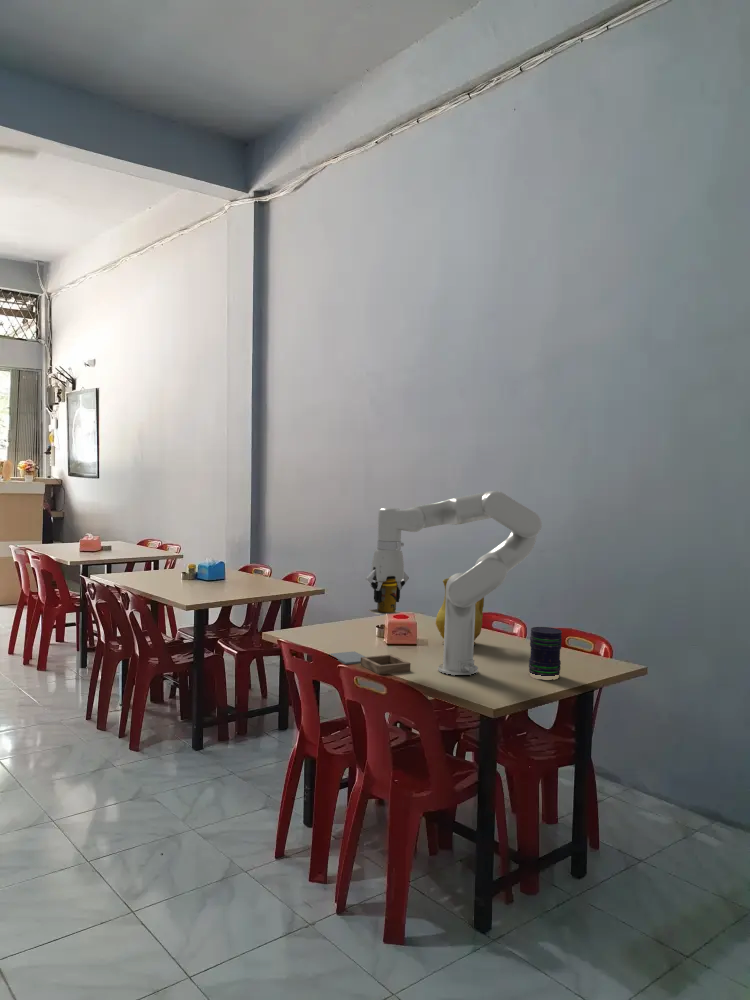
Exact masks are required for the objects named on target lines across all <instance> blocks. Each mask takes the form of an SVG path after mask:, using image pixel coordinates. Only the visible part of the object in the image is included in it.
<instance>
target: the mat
mask: <svg viewBox="0 0 750 1000" xmlns="http://www.w3.org/2000/svg"><path fill="white" fill-rule="evenodd" d="M330 654H331V655H333V656H334V657H336V658H337V659H338V660H337V661H338V662H340V663H342V664H344V665H353V664H361V657H366V656H365V655H363V654H360V653H359V652H356V651H343V652H334V653H333V652H331V653H330Z"/></svg>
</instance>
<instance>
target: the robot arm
mask: <svg viewBox="0 0 750 1000" xmlns="http://www.w3.org/2000/svg"><path fill="white" fill-rule="evenodd" d="M489 519H493V520H494V521H496V522H497V523H499V524H501V525H502V526H504V527H505V528H507V529H509V530H510V533H509V535H508V537H506V539H504V541H502V542H500V544H498V545H497V546H495V547H494V548H493V549H491V550H490V551H488V552H487V553H485V554H483V555H481V556H480V557H479V558H478V559H476V561H475V564H474V566H473V567H471V568H470V569H468V570H467V571H465V572H456V573H454V574H452V575H451V577H450V576H449V577H450V578H449V577H448V578H449V580H448V581H447V584H446V608H445V631H444V639H443V642H444V645H443V654H442V655H443V659H442V660H443V661H442V664H439V665H438V666H437V670H438V672H440V673H441V672H442V674H444V673H446V675H448V674H451V675H450V676H455V675H470V674H474V673H476V672H477V673H478V669H479V667H478V666H477V665H475V659H474V648H475V647H474V645H475V644H474V642H475V641H474V627H475V603H476V602H478V601H479V600H481V599H482V598H483V597H484V598H485V597H486V596H488V595H489V594H491V593H492V592H493V591H495V590H496V589H497V588H498V587H500V586H501V585H502V584H503V583H504V582H505V581H506V579H507V576H508V573H509V572H510V571H511V570H512V569H514V568H515V567H516V566H517V565H519V564H520V563H522V562H523V561H524V560H525V559H527V557H528V556H530V554H531V552H532V551H533V548H534V546H535V545H536V542H537V541H536V540H537V535H538V534H539V533H540V532H541V530H542V526H543V525H542V524H543V523H542V519H541V517H540V516H539V514H538V513H537V512H535V511H533V510H532V509H531V508H529V507H526V506H525V505H524V504H522V503H519V502H518V501H516V500H515V499H513V498H512V497H510V496H508V495H507V494H506V493H504V492H502V491H498V490H488V491H484V492H479V493H475V494H474V493H473V494H469V495H464V496H458V497H454V498H449V499H446V500H443V501H439V502H435V503H434V502H433V503H429V504H428V503H427V504H424V505H419V506H413V507H409V508H405V509H400V508H397V507H382V508H380V509H379V510H378V520H377V524H378V526H377V545H376V546H377V547H376V549H375V550H374V551H373V555H372V561H371V566H370V573H369V574H368V575H367V576H366V578H365V581H366V582H367V583H368V584H369V586H370V587H371V588H372V589H373V601H374V603H376V604H377V603H381V591H380V588H381V585H382V583H383V582H385V581H386V578H387V577H388V576H395V577H396V578H395V580H396V584H397V594H396V603H400V599H401V591H402V589H403V587H404V585H406V583H407V582H408V580H410V577H409V576H408V574H407V573H406V572H405V569H404V568H405V563H404V555H403V551H402V550H401V549H402V548H403V547H404V545H405V543H404V542H402V531H403V532H409V533H418V532H420V531H421V530H423V529H427V528H431V527H437V526H443V525H451V526H453V525H456V526H457V525H463V524H468V523H473V522H478V521H484V520H489ZM477 673H476V674H477ZM474 675H475V674H474ZM470 676H471V675H470Z"/></svg>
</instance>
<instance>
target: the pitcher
mask: <svg viewBox="0 0 750 1000" xmlns="http://www.w3.org/2000/svg"><path fill="white" fill-rule="evenodd" d="M451 576H452V575H451ZM451 576H449V577H448V578H445V579H442V582H443V587H444V597H443V598H444V599H443V603H442V604H441V606H440V608H439V610H438V612H437V614H436V618H435V625H436V627H437V630H438V632H439V634H440V637H441V638H442V639H443V640H444V631H445V608H446V584H447V581H448V580H449V578H450V577H451ZM484 603H485V597H483V598H482V599H481V600H479V601H478V602H476V603H475V627H474V645H476V642H475V641H476V639H477V638H478V637H480V634H481V632H482V627H483V618H484V613H483V611H484V605H485V604H484Z"/></svg>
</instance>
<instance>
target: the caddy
mask: <svg viewBox="0 0 750 1000" xmlns="http://www.w3.org/2000/svg"><path fill="white" fill-rule="evenodd" d="M411 664H412V663H410V662H408V661H406V660H404V659H402V658H400V657H397V656H395V655H393V654H384V655H382V654H381V655H372V656H365V657H361V663H360V666H362V667H363V668H366V669H368V670H370V671H372V672H374V673H376V674H377V675H385V674H395V673H403V672H404V673H406V672H411Z"/></svg>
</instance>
